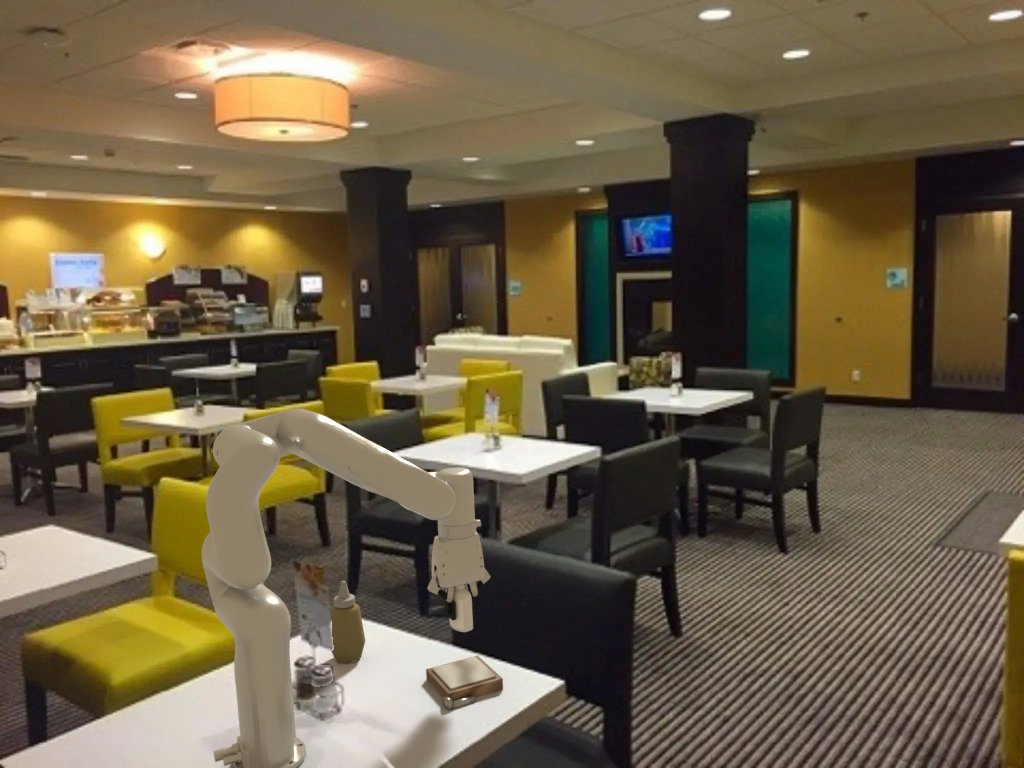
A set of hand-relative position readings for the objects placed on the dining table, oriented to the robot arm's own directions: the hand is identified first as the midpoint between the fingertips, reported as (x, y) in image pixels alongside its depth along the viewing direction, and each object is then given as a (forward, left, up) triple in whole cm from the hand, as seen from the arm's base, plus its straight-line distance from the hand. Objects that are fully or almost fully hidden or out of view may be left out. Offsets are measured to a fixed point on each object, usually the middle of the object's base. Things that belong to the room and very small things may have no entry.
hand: (460, 614), depth 176 cm
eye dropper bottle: (0, 0, -3) cm, 3 cm away
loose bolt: (-4, -8, -15) cm, 18 cm away
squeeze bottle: (-17, +26, -16) cm, 35 cm away
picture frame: (0, 0, -16) cm, 16 cm away
